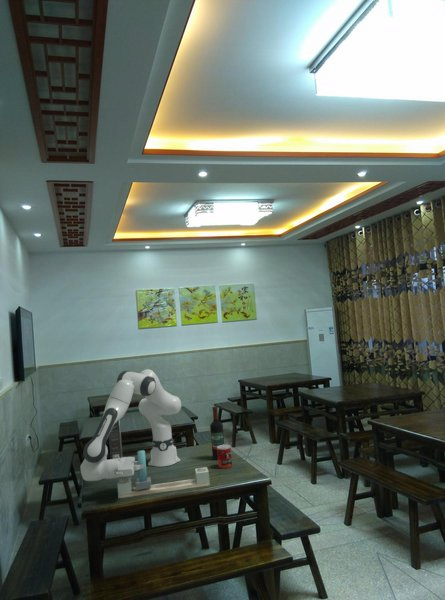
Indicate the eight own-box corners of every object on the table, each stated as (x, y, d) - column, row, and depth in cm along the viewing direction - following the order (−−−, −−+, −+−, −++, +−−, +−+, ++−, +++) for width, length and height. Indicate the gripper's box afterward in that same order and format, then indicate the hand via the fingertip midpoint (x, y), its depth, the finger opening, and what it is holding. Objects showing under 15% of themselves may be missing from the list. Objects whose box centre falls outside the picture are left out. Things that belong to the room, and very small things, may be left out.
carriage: (136, 485, 224) (134, 450, 225) (151, 483, 225) (148, 448, 226) (136, 490, 217) (133, 454, 218) (151, 487, 218) (148, 452, 219)
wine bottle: (227, 456, 268) (222, 405, 270) (223, 460, 261) (218, 408, 263) (215, 456, 271) (211, 405, 273) (210, 460, 264) (206, 408, 265)
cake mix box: (122, 469, 261) (118, 416, 263) (111, 470, 260) (107, 418, 262) (122, 459, 283) (119, 410, 285) (112, 460, 282) (109, 411, 283)
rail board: (119, 492, 223) (118, 477, 223) (207, 480, 230) (206, 465, 230) (118, 498, 215) (117, 483, 216) (209, 485, 222) (208, 470, 222)
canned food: (222, 469, 244) (220, 449, 245) (216, 466, 251) (214, 446, 252) (234, 466, 248) (233, 446, 248) (228, 463, 255) (226, 443, 255)
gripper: (112, 468, 210) (143, 464, 212) (116, 456, 230) (143, 452, 232) (113, 481, 209) (144, 477, 211) (117, 468, 229) (144, 465, 232)
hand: (143, 464), depth 222 cm, fingers closed on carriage, 3 cm apart
